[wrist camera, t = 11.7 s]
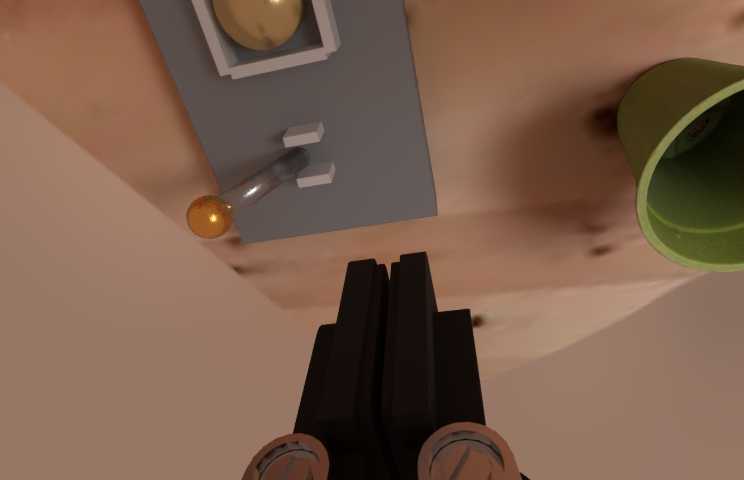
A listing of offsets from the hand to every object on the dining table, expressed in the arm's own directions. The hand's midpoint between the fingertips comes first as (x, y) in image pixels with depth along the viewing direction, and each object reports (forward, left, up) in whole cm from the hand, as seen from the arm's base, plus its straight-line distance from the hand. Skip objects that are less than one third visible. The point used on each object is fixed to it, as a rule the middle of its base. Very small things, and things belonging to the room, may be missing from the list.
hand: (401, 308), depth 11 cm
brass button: (+8, -5, -24) cm, 25 cm away
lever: (+8, +5, -24) cm, 26 cm away
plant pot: (-17, +8, -27) cm, 33 cm away
